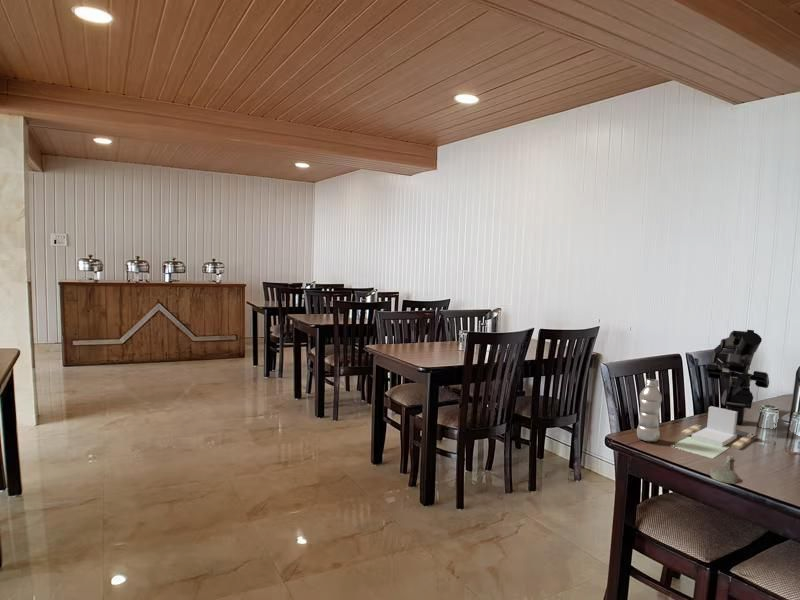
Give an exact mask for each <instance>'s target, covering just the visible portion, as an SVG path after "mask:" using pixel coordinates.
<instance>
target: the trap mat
mask: <svg viewBox="0 0 800 600" xmlns="http://www.w3.org/2000/svg"><path fill="white" fill-rule="evenodd" d="M700 425H701V426H702V429H704V428H706V427H707V422H704V423H702V424H700ZM749 433H750V432H747V431H742V430H739V429H736V433H735V434H737V437H740V436H742V437H744V436H746V437H747V435H748V434H749ZM742 437H741V438H742Z"/></svg>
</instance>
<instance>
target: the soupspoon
mask: <svg viewBox="0 0 800 600" xmlns="http://www.w3.org/2000/svg"><path fill="white" fill-rule="evenodd" d="M726 458H727V460H726V462H725V464H724V467H722V466H720V467H712V468H711V469H710V470H709V476H710V477H711V478H712V480H714V481H719V482H721V483H726V484H731V485H732V484H737V482H738V480H739V475H738V473H736V472H735V471H733V470H732V469H729V465H730V462H731V461H734V460H735V458H734V456H732V455H728V456H726Z"/></svg>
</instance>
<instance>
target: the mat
mask: <svg viewBox="0 0 800 600" xmlns="http://www.w3.org/2000/svg"><path fill="white" fill-rule="evenodd" d="M674 444H677V445H676V446H677V447H675V448H674V449H676V448H678V449H677V450H680V449H681V450H680V451H683V450H684V452H688V453H690V452H691V453H692V454H694V455H697V454H698V456H701V457H705V458H709V459H711V460H712V459H715V458H717V457H718V456H719V455H721V454H722V453H724V452H725V451H726V450H728V449H729V448H730V446H726V445H724V446H723V447H720V446H716V445H713V444H709V443H705V442H701V441H697V440H694V439H691V436H686V437H685V438H683V439H681V440H679V441H678V442H676V443H674ZM674 444H672V445H671V446H673V447H674V446H675V445H674ZM678 444H679V445H678ZM673 447H672V448H673ZM691 453H690V454H691Z"/></svg>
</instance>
